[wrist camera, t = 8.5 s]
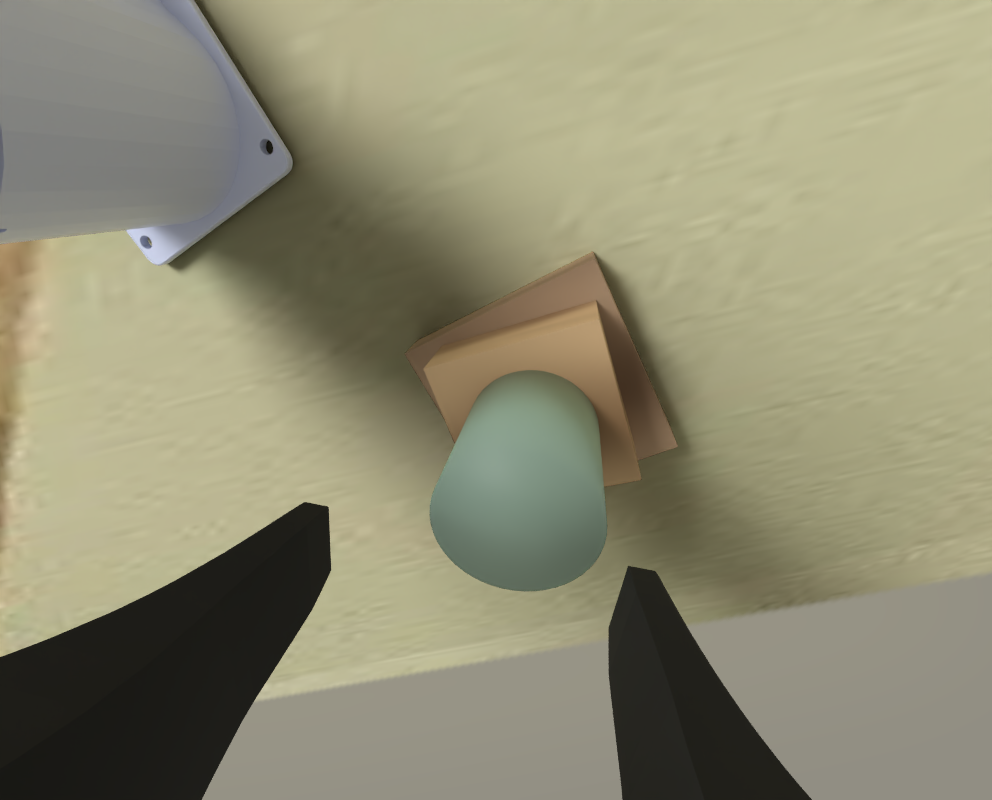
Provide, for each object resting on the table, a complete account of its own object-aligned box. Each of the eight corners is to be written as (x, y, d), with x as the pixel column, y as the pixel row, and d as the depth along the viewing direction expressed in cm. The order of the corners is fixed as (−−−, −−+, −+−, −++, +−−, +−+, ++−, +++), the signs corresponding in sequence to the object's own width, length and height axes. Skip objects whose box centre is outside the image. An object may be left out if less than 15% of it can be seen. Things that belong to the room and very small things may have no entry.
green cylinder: (478, 358, 16) (438, 430, 11) (614, 385, 16) (628, 470, 11) (461, 470, 18) (422, 569, 13) (582, 496, 17) (583, 607, 13)
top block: (441, 345, 19) (423, 368, 16) (596, 299, 17) (598, 318, 15) (492, 473, 21) (482, 510, 18) (633, 444, 19) (641, 479, 17)
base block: (422, 335, 21) (404, 353, 19) (592, 248, 19) (594, 258, 16) (506, 477, 24) (499, 508, 21) (667, 418, 21) (678, 446, 19)
